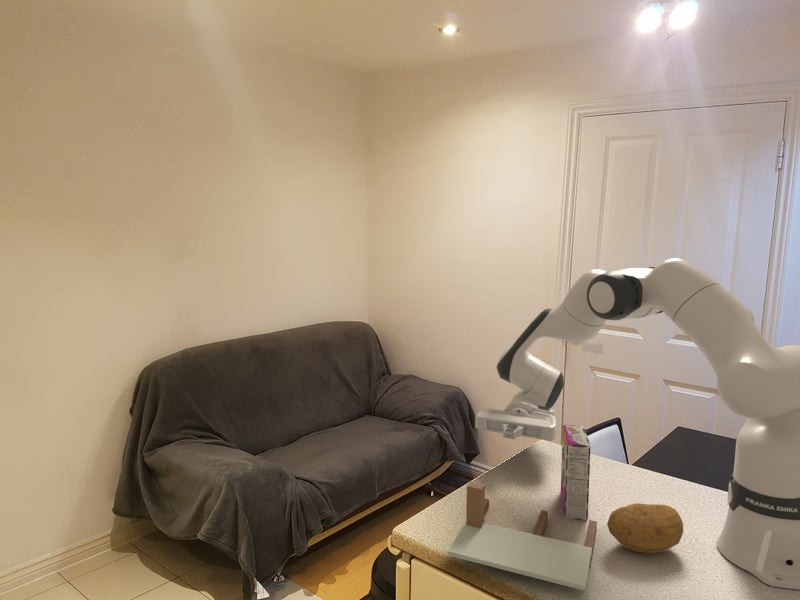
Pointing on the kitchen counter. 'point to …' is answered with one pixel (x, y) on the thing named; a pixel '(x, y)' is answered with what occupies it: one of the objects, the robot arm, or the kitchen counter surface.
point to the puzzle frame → (542, 524)
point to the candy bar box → (575, 471)
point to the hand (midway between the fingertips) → (509, 435)
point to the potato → (646, 527)
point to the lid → (518, 548)
